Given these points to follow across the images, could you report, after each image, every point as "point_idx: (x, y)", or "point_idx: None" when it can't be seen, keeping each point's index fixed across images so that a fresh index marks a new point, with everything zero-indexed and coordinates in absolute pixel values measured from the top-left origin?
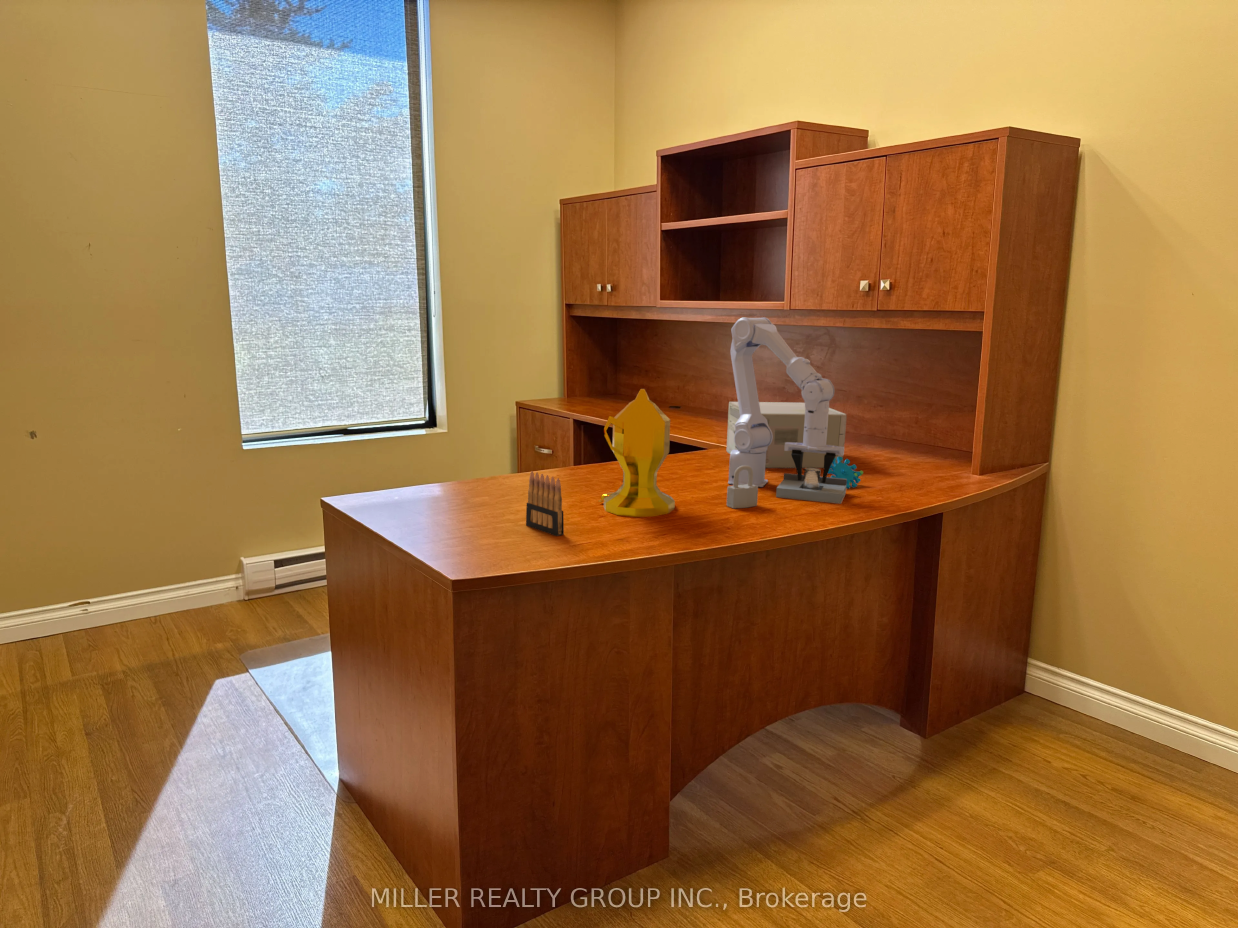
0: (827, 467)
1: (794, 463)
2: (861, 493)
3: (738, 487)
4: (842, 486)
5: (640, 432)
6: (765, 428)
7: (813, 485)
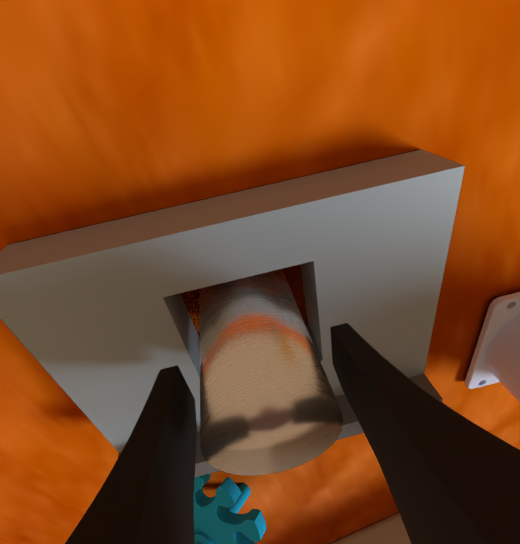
0: (106, 503)
1: (397, 531)
2: (90, 454)
3: None
4: (119, 432)
5: None
6: None
7: (223, 310)
